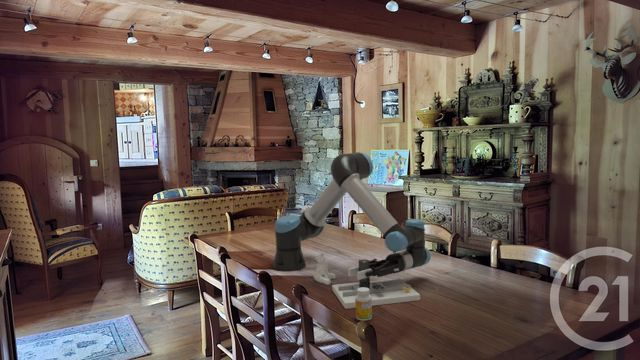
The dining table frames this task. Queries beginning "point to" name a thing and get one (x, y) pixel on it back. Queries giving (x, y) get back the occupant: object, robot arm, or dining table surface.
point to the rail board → (377, 293)
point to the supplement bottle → (363, 304)
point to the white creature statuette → (323, 270)
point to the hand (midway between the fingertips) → (353, 274)
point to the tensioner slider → (366, 281)
